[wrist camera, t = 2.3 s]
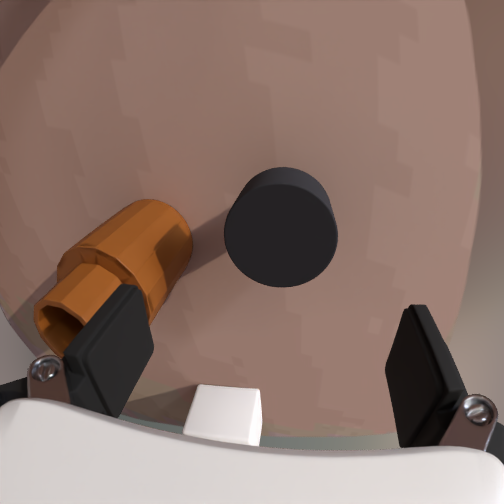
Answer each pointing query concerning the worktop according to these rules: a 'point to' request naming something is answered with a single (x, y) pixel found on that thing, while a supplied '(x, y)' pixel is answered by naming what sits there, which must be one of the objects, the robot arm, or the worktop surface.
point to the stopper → (281, 228)
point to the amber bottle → (115, 268)
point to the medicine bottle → (225, 415)
